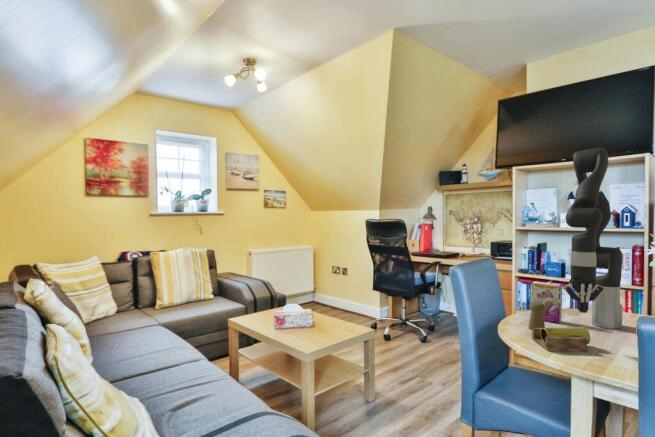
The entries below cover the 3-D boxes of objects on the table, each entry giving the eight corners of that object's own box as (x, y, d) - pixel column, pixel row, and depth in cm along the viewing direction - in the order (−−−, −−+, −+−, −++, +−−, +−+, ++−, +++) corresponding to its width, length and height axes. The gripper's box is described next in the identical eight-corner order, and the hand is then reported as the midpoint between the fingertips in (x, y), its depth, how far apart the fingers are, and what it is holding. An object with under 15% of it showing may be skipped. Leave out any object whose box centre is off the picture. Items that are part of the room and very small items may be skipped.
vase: (591, 331, 126) (549, 331, 127) (590, 347, 127) (547, 347, 128) (580, 323, 132) (540, 323, 133) (579, 339, 133) (539, 339, 134)
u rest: (568, 340, 136) (568, 328, 136) (586, 352, 125) (587, 339, 125) (532, 339, 137) (532, 327, 137) (547, 350, 126) (547, 338, 126)
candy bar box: (530, 319, 162) (531, 282, 162) (533, 316, 166) (533, 281, 166) (559, 324, 155) (560, 286, 155) (561, 321, 159) (562, 284, 159)
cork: (544, 328, 150) (544, 301, 150) (546, 332, 145) (546, 305, 144) (527, 326, 153) (528, 300, 152) (529, 330, 147) (529, 303, 147)
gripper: (595, 262, 132) (595, 309, 133) (558, 262, 134) (557, 309, 134) (610, 265, 125) (609, 315, 125) (569, 265, 126) (569, 315, 127)
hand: (582, 312), depth 130 cm, fingers closed
